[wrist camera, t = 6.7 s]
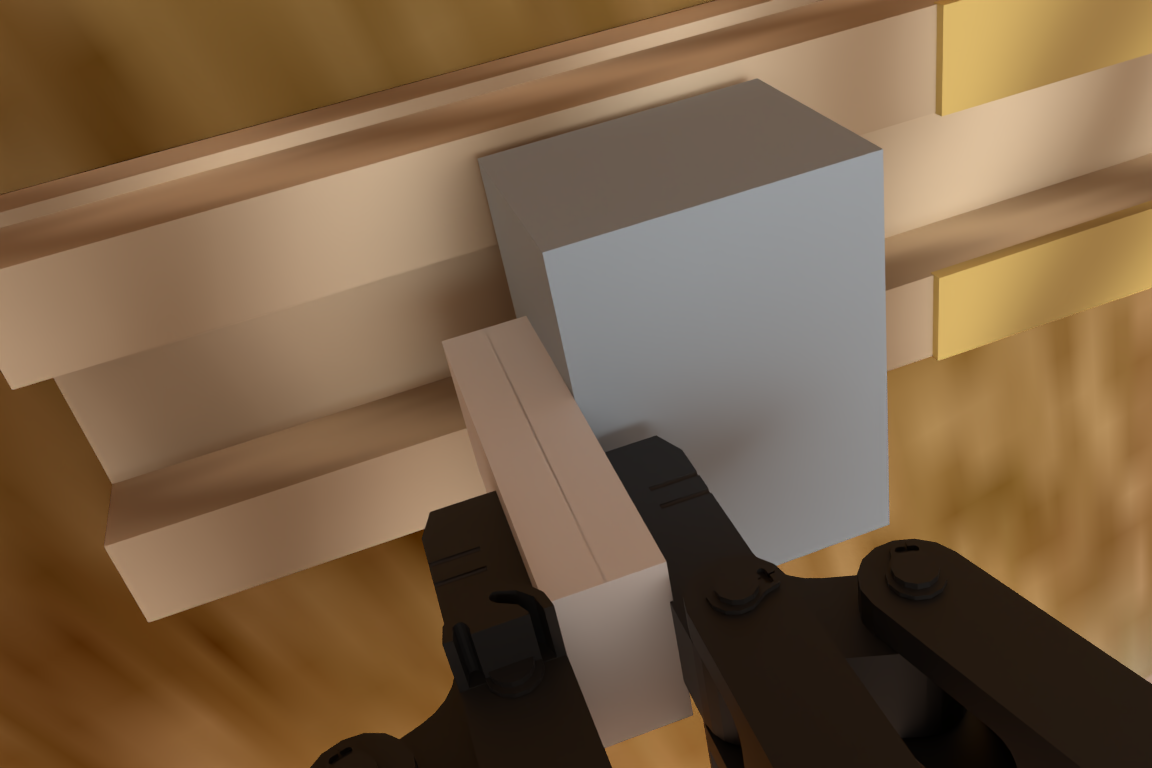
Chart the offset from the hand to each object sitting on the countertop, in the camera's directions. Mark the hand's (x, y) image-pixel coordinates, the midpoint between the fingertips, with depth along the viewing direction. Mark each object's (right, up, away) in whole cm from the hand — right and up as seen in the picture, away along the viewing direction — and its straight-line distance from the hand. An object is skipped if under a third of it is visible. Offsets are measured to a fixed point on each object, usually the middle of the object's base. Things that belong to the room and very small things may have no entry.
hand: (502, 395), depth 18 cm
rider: (+2, +3, +3) cm, 5 cm away
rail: (+6, +5, +5) cm, 9 cm away
